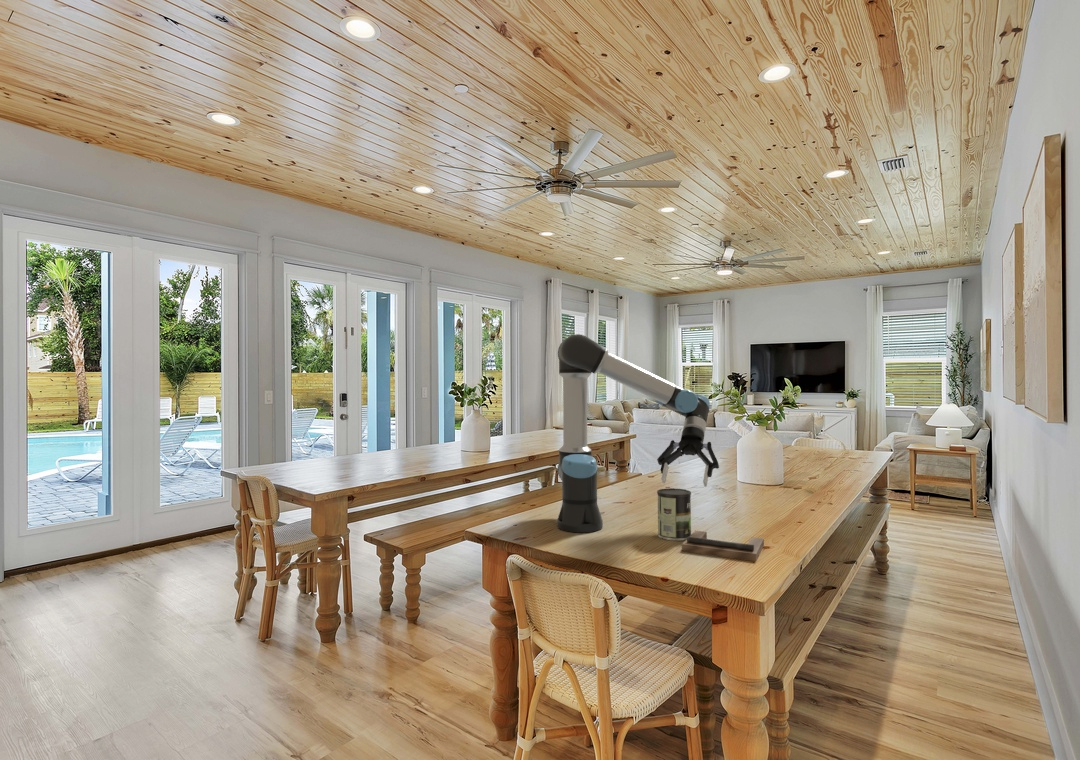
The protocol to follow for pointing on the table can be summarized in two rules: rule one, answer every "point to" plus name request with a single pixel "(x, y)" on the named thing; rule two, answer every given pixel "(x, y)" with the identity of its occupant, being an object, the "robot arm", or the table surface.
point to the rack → (723, 547)
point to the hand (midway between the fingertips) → (683, 482)
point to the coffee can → (674, 514)
